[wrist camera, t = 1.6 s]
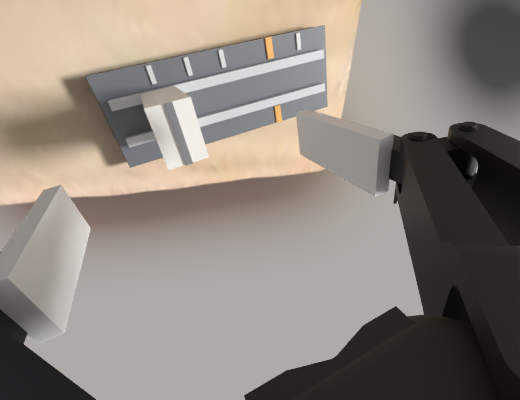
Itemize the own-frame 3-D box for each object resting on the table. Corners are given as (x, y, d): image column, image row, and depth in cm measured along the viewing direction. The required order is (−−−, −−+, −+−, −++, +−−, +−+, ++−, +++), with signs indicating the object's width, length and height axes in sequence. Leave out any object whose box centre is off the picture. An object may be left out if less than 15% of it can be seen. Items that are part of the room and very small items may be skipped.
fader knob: (140, 92, 28) (144, 109, 19) (172, 85, 29) (191, 96, 20) (158, 137, 30) (168, 171, 21) (187, 129, 31) (209, 157, 22)
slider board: (88, 75, 27) (83, 77, 25) (313, 27, 35) (329, 24, 32) (130, 161, 33) (129, 170, 30) (317, 104, 40) (331, 107, 37)
